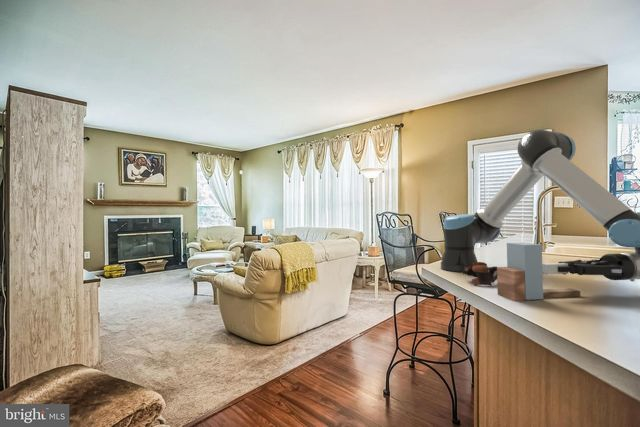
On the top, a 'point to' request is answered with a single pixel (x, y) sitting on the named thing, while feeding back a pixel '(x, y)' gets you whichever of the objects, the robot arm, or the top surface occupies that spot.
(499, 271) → the wooden mallet
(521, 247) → the blue-grey tall block
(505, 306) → the top surface
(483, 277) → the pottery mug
